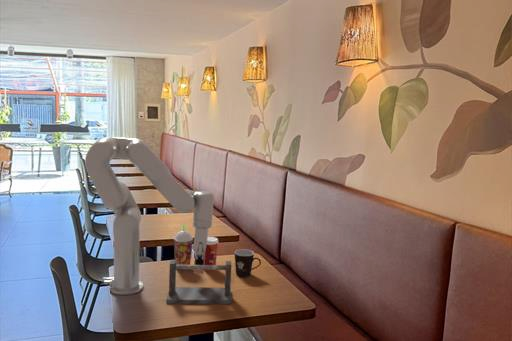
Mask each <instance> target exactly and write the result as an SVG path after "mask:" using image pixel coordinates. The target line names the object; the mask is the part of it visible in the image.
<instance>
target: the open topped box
mask: <svg viewBox="0 0 512 341" xmlns="http://www.w3.org/2000/svg"><path fill="white" fill-rule="evenodd" d="M196 255H197V251H196V252H194V261H193V262H194V264H193V265H195V261H196ZM203 259H204V263H203V265H204V264H205V252H204V255H203ZM193 274H194V275H204V274H205V270H193Z"/></svg>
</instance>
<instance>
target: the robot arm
mask: <svg viewBox="0 0 512 341" xmlns="http://www.w3.org/2000/svg"><path fill="white" fill-rule="evenodd" d="M85 155H86V156H85V162H84V164H85V170H86V173H87V174H88V177H89V178H90V180H91V183H92V184H93V186H94V188H95V190H96V192H97V194H98V196H99V197H100V199H101V200H100V201H101V202H102V203H103V206H104V207H105V208H107V209H108V210H111V211H112V212H113V213H114V215H115V217H114V219H113V225H112V233H113V276H111V277H107V276H104V277H102V283H103V284H104V285H110V286H109V292H111V293H112V294H114V295H119V296H122V295H123V296H126V295H127V296H128V295H133V294H137V293H138V292H141V291H142V290H143V289H144V283H143V282H142V281H140V226H141V220H142V212H141V210H140V207H139V205H138V204H137V202H136V200H135V198H134V196H133V194H132V192H131V190H130V189H129V187H128V186H127V185H126V184H125V183H124V182H122V181H119V180H118V178H117V176H116V173H115V171H114V170H113V168H112V166H111V161H112V160H113V159H116V160H117V159H118V160H129V162H130V163H131V164H132V165H133V166H134V167H135V168H136V169H137V170H138V171H139V172H140V173H141V174H142V175H143V176H144V177H145V178H146V179H147V180H148V181H149V182H150V183H151V184H152V185H153V186H154V188H156V189H157V191H158V192H159V194H161V195H162V196H163V197H164V199H165V200H166V201H167V202H168V203H169V204H170V205H171V206H172V207H173V208H174V209H175V210H177V212H179V213H181V214H187V213H191V212H192V211H193V215H192V216H193V219H192V227H194V233H193V234H194V235H193V236H194V237H193V246H192V247H193V250H192V252H193V253H195V252H196V251H197V255H196V261H195V260H194V261H195V265H203V263H204V259H203V255H204V252H205V251H206V246H207V239H208V237H209V229H211V228H212V227H213V214H214V202H215V198H214V197H215V196H214V195H215V194H214V193H213V192H211V191H206V190H202V191H198V190H197V191H196V190H192V189H188V188H187V189H185V188H183V186H182V185H181V184H180V183H179V182H178V181H177V180H176V178H175V177H174V175H173V174H172V172H171V170H170V169H169V167H168V166H167V165H166V164H165V163H164V161H163V160H162V159H161V158H159V157H158V156H157V155H156V154H155V153H154V152H153V150H152V149H150V146H149V144H148V143H147V141H145V140H143V139H140V138H129V137H119V136H118V137H116V136H115V137H114V136H105V137H101V138H100V139H97V140H96V141H95V142H94V143H93V144H92V145H91V146H90V148H89V149H88V151H87V153H86V154H85Z"/></svg>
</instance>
